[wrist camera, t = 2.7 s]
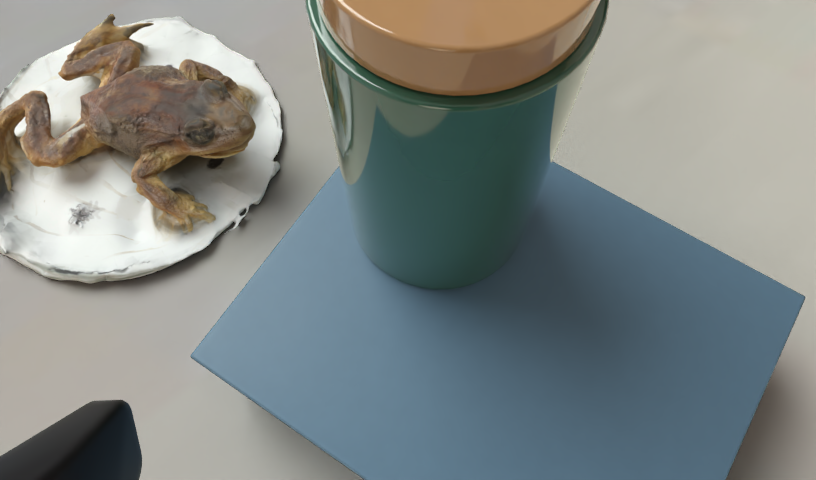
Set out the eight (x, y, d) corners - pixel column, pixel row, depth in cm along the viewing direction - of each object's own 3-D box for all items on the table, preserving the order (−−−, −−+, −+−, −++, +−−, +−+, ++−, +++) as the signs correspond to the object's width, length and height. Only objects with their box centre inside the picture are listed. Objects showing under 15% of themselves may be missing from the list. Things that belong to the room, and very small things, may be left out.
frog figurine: (321, 42, 27) (308, -28, 24) (231, 317, 23) (198, 280, 19) (63, -1, 28) (14, -75, 25) (-72, 253, 24) (-157, 207, 20)
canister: (558, 183, 20) (687, -114, 11) (469, 325, 19) (526, 122, 9) (412, 103, 22) (410, -228, 12) (314, 230, 20) (222, -38, 10)
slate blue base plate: (745, 331, 22) (807, 296, 19) (599, 645, 19) (641, 674, 15) (405, 141, 25) (404, 81, 22) (224, 381, 22) (189, 356, 18)
